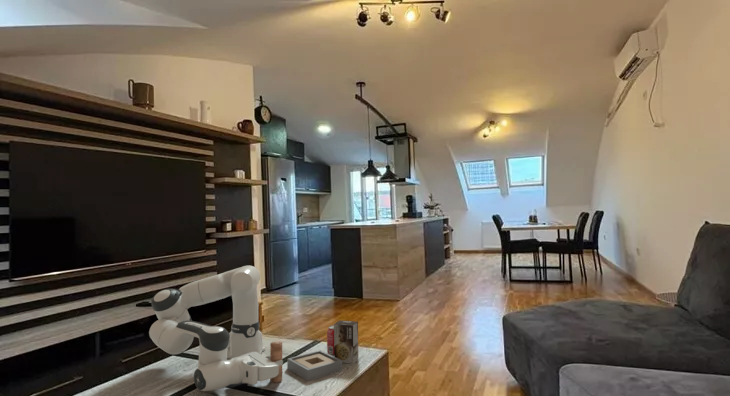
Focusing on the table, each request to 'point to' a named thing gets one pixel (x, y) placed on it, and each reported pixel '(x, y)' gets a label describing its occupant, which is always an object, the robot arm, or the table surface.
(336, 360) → the peg box
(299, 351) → the table surface
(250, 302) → the robot arm
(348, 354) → the coffee box
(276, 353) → the peg
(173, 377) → the table surface
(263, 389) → the table surface
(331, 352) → the soda can
